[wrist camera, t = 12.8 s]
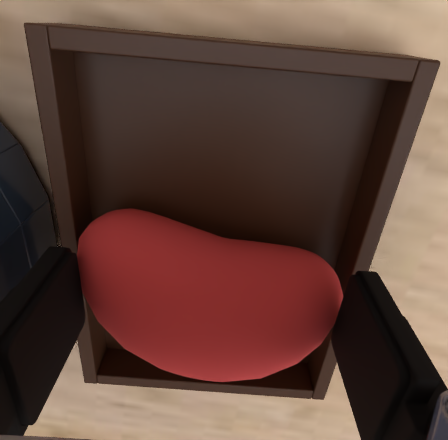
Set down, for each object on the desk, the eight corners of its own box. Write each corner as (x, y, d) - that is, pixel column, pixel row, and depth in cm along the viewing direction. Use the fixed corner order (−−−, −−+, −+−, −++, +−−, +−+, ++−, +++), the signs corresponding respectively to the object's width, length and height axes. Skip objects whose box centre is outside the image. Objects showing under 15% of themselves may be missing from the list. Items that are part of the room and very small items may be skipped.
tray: (99, 345, 18) (84, 383, 16) (59, 23, 11) (22, 22, 9) (314, 361, 18) (324, 400, 17) (407, 54, 11) (442, 60, 9)
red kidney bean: (245, 321, 18) (333, 412, 13) (54, 310, 14) (63, 445, 8) (278, 226, 17) (386, 279, 12) (87, 180, 13) (121, 233, 7)
